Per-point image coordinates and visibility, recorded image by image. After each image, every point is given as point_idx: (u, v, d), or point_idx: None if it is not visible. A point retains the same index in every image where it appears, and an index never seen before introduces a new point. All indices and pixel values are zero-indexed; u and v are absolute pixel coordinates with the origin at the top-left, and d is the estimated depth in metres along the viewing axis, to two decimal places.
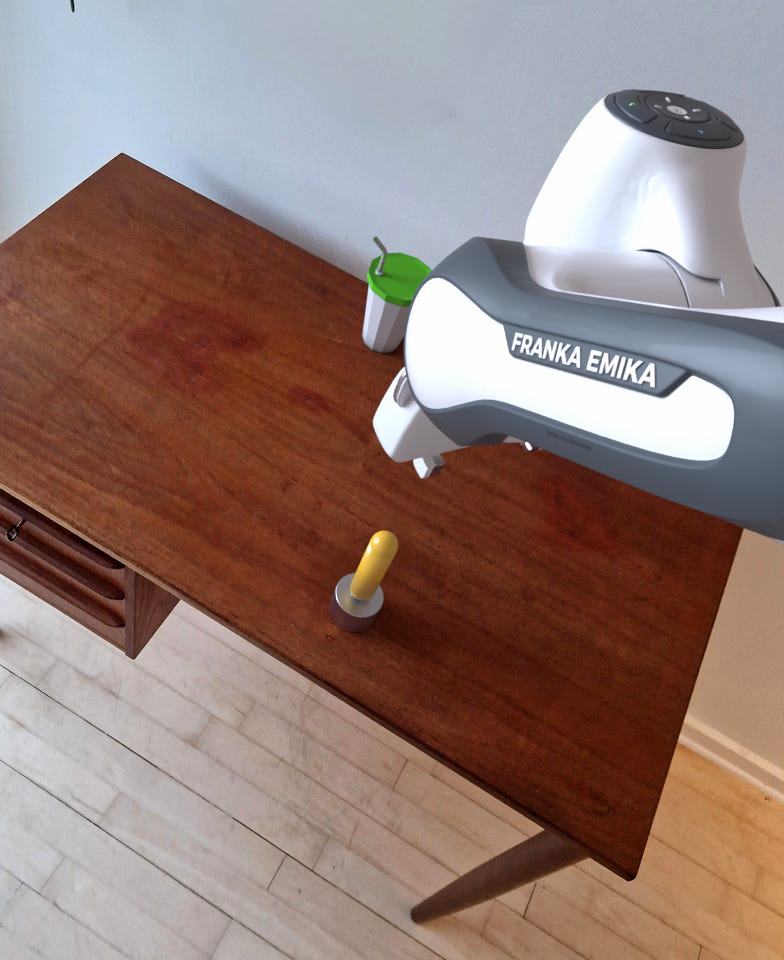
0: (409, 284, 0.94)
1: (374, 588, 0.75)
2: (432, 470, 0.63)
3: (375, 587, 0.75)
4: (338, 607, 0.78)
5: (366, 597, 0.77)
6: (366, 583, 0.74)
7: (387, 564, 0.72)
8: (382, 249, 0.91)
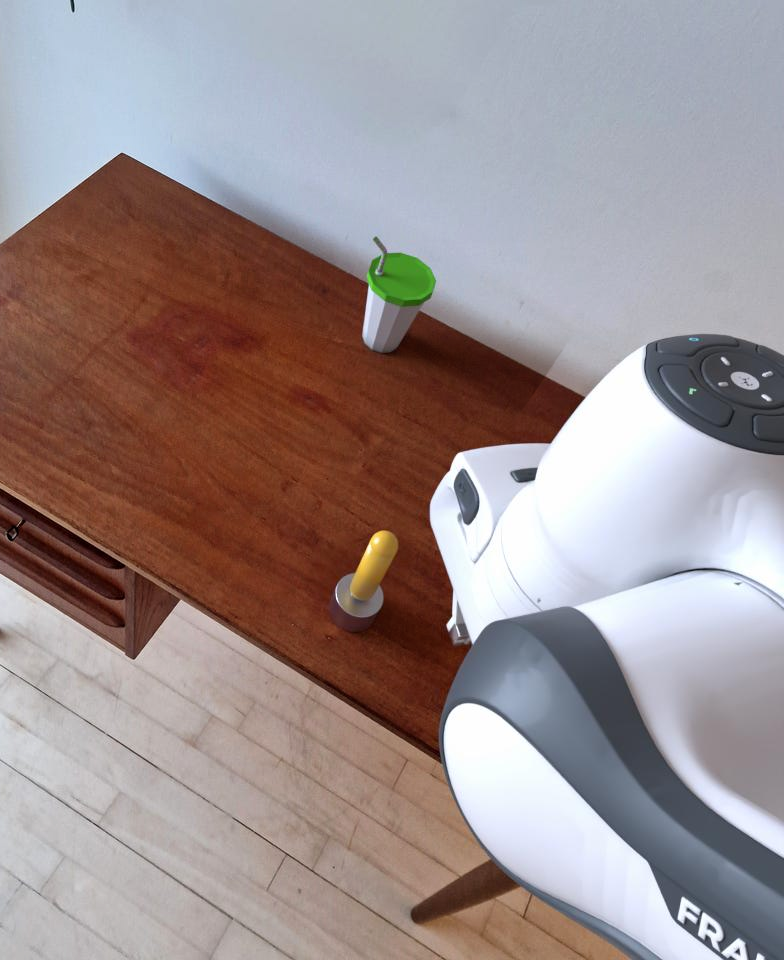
0: (409, 284, 0.94)
1: (374, 588, 0.75)
2: None
3: (375, 587, 0.75)
4: (338, 607, 0.78)
5: (366, 597, 0.77)
6: (366, 583, 0.74)
7: (387, 564, 0.72)
8: (382, 249, 0.91)
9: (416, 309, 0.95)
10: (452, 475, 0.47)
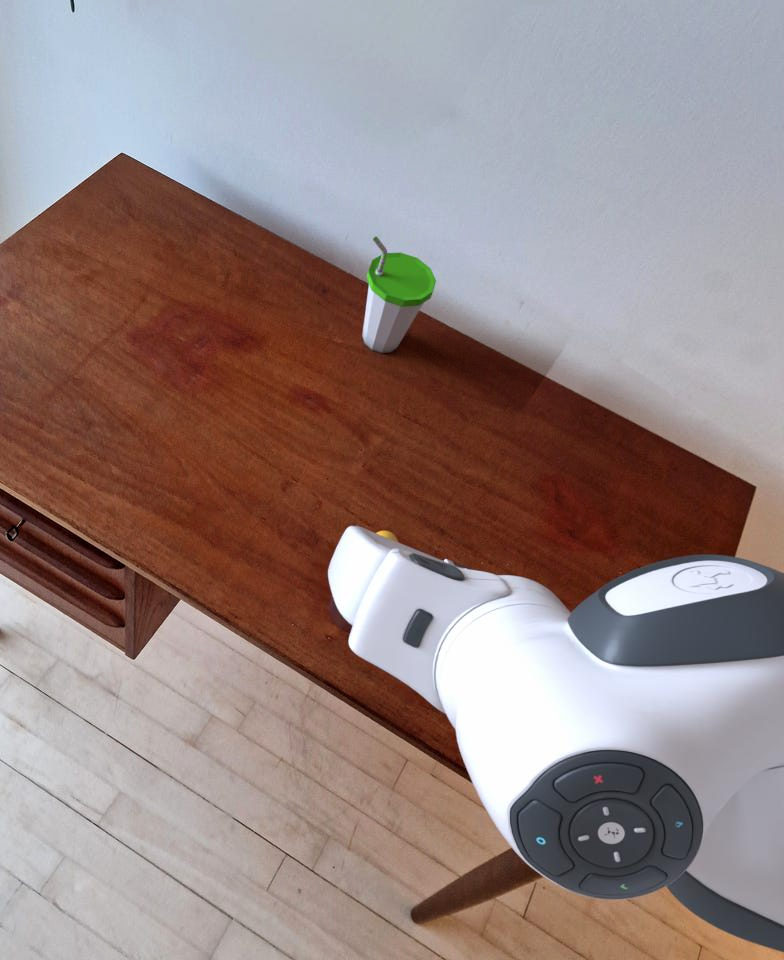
0: (409, 284, 0.94)
1: None
2: None
3: None
4: None
5: None
6: None
7: None
8: (382, 249, 0.91)
9: (416, 309, 0.95)
10: None
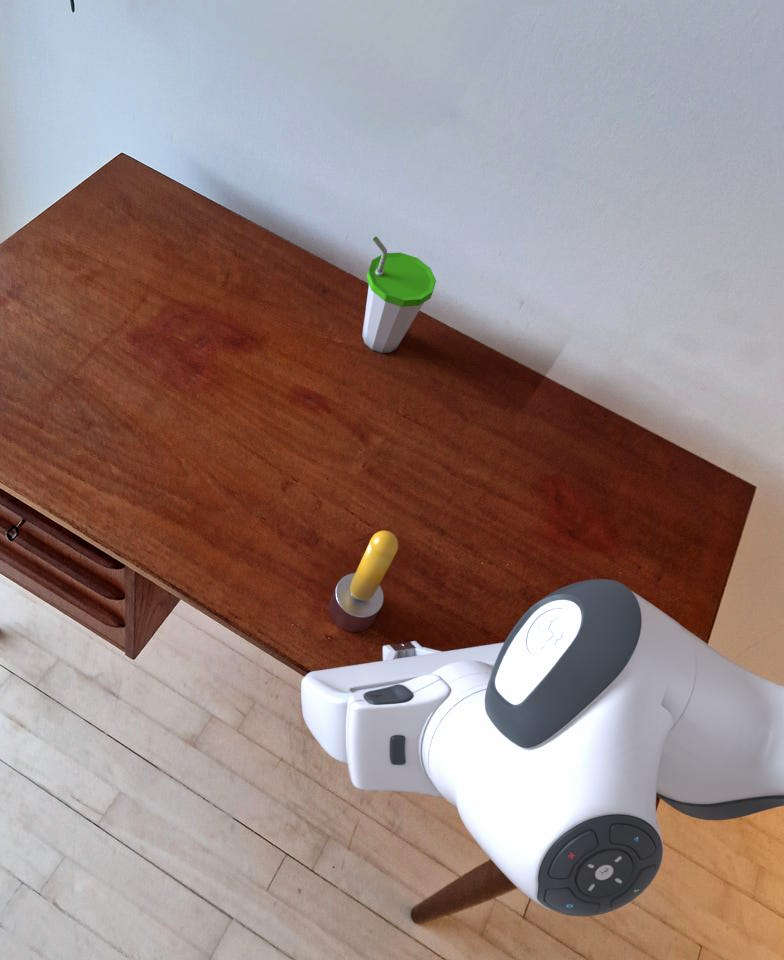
0: (409, 284, 0.94)
1: (374, 588, 0.75)
2: (413, 645, 0.71)
3: (375, 587, 0.75)
4: (338, 607, 0.78)
5: (366, 597, 0.77)
6: (366, 583, 0.74)
7: (387, 564, 0.72)
8: (382, 249, 0.91)
9: (416, 309, 0.95)
10: None
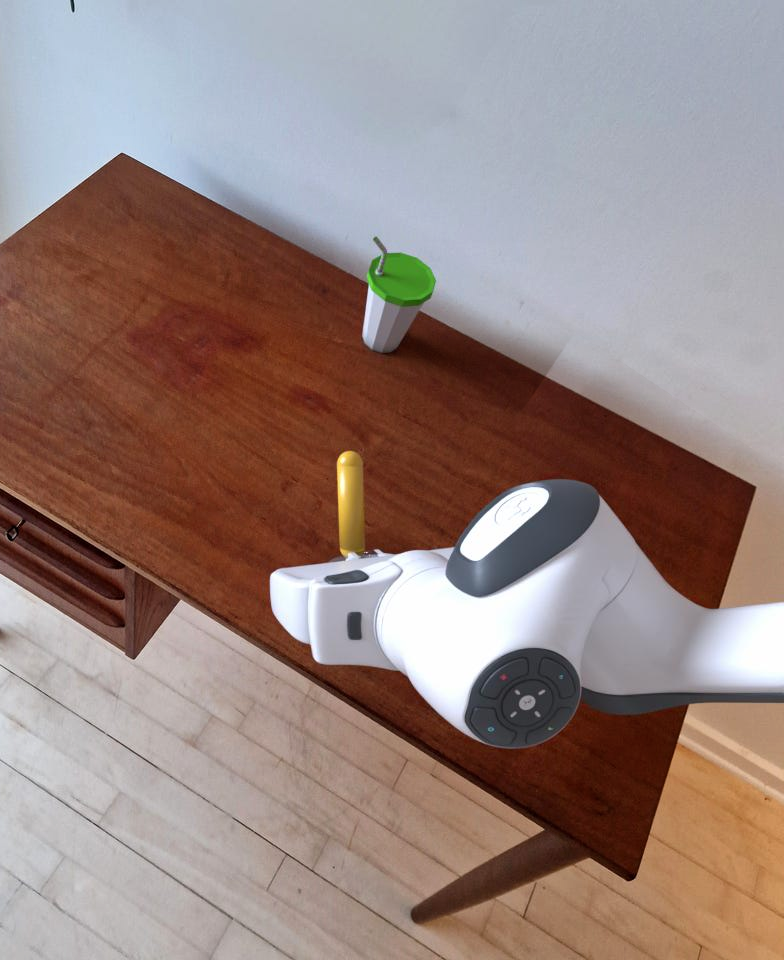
0: (409, 284, 0.94)
1: (358, 529, 0.78)
2: (376, 552, 0.77)
3: (359, 527, 0.78)
4: None
5: (355, 546, 0.78)
6: (348, 519, 0.78)
7: (357, 481, 0.77)
8: (382, 249, 0.91)
9: (416, 309, 0.95)
10: None
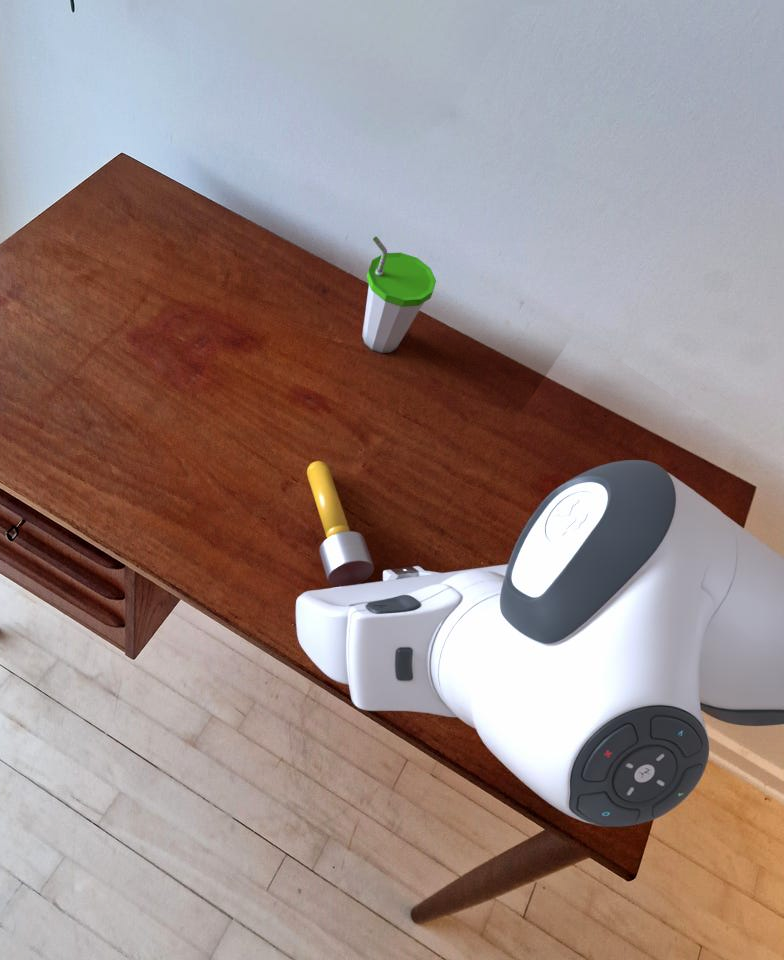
0: (409, 284, 0.94)
1: (336, 509, 0.84)
2: (416, 569, 0.66)
3: (337, 508, 0.84)
4: (323, 547, 0.81)
5: (338, 523, 0.83)
6: (325, 503, 0.85)
7: (326, 475, 0.87)
8: (382, 249, 0.91)
9: (416, 309, 0.95)
10: None
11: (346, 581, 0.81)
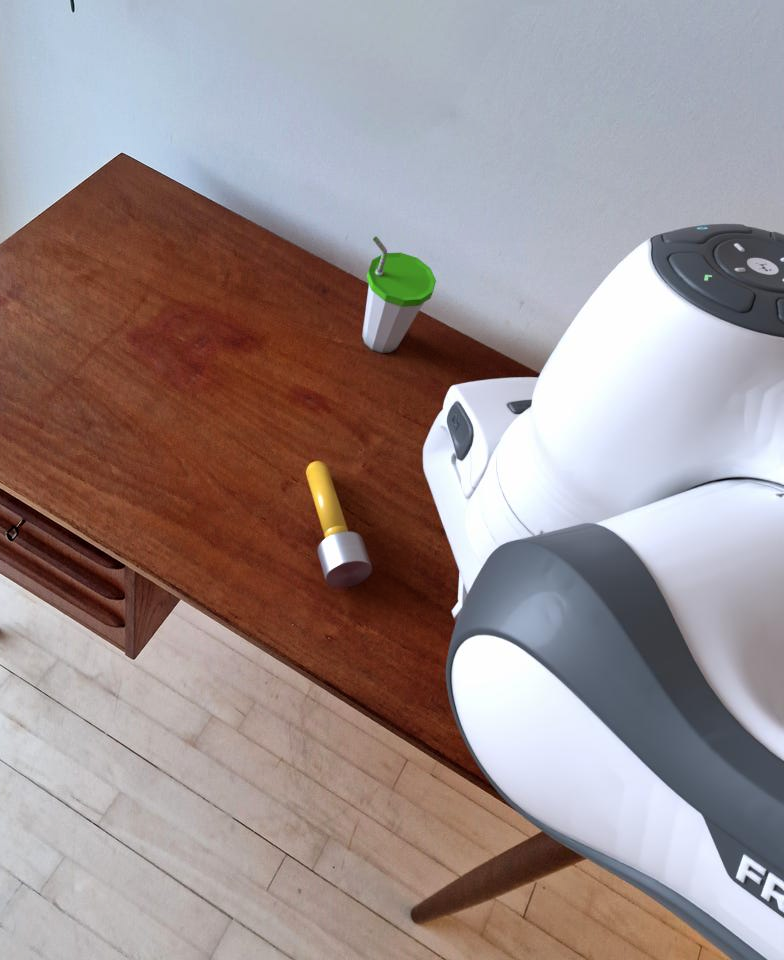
0: (409, 284, 0.94)
1: (334, 509, 0.84)
2: None
3: (335, 509, 0.84)
4: (320, 548, 0.81)
5: (335, 523, 0.83)
6: (323, 504, 0.85)
7: (324, 475, 0.87)
8: (382, 249, 0.91)
9: (416, 309, 0.95)
10: (445, 410, 0.45)
11: (345, 581, 0.81)
